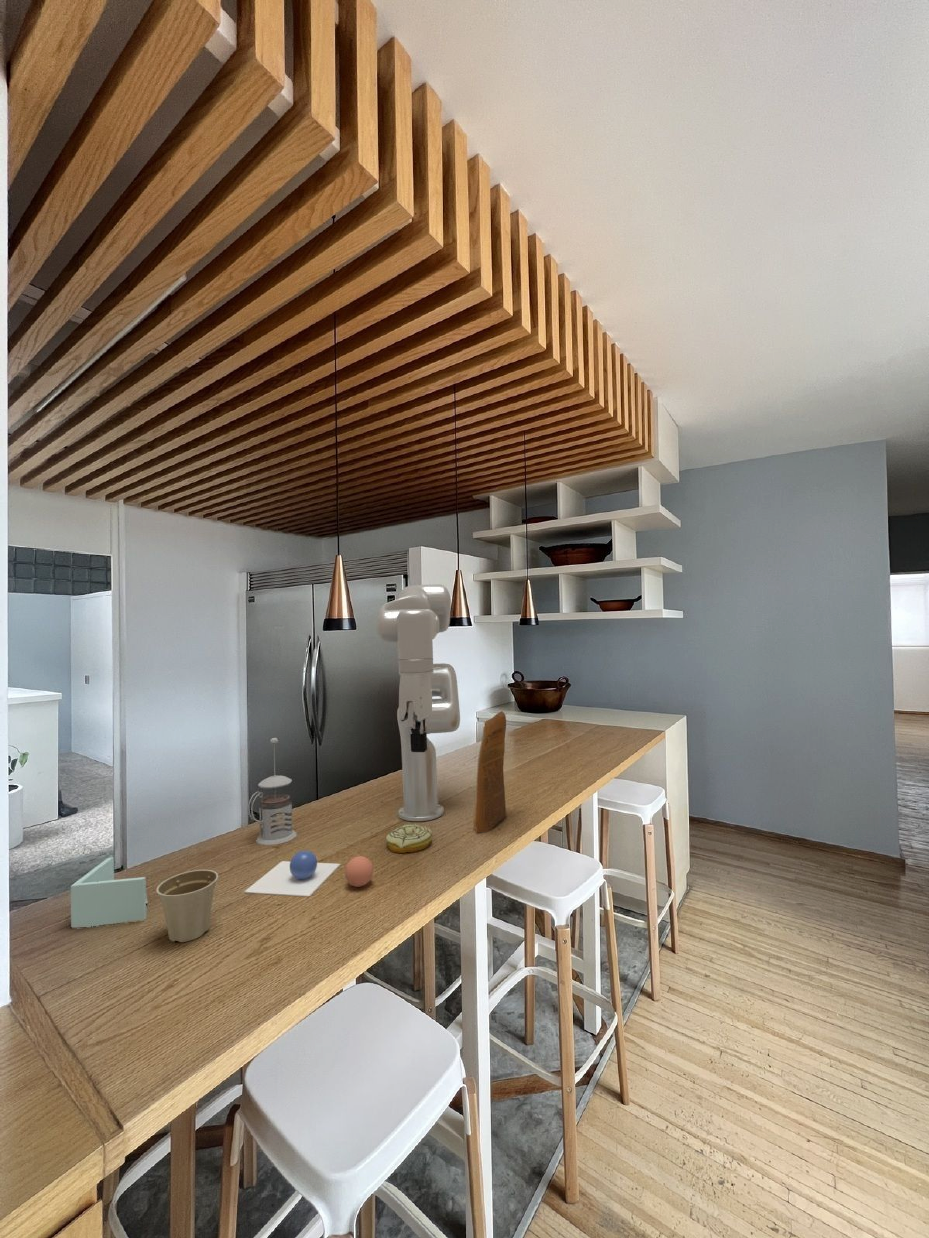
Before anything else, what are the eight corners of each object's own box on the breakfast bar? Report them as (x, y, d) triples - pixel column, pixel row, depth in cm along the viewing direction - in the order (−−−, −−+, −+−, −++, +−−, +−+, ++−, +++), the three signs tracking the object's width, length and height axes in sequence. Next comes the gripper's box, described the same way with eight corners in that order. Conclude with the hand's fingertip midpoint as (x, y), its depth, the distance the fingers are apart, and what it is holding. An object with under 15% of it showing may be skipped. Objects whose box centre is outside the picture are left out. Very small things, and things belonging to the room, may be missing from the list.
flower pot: (176, 955, 82) (175, 900, 83) (146, 939, 87) (145, 887, 88) (230, 926, 90) (229, 876, 91) (199, 913, 95) (198, 865, 96)
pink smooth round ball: (376, 851, 106) (373, 875, 107) (349, 849, 106) (347, 872, 107) (371, 869, 101) (369, 894, 102) (343, 867, 100) (341, 891, 101)
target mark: (282, 861, 116) (281, 861, 116) (340, 864, 114) (340, 863, 114) (244, 892, 102) (244, 891, 102) (309, 896, 100) (309, 895, 100)
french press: (304, 835, 132) (301, 736, 133) (260, 850, 123) (257, 744, 124) (285, 826, 138) (282, 732, 139) (241, 840, 130) (239, 740, 131)
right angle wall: (144, 921, 93) (143, 879, 93) (71, 929, 92) (70, 885, 92) (172, 889, 105) (171, 852, 105) (108, 895, 104) (107, 857, 104)
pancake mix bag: (518, 812, 142) (513, 710, 143) (490, 838, 125) (485, 721, 126) (495, 809, 145) (491, 709, 146) (465, 834, 128) (460, 720, 129)
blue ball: (324, 850, 110) (318, 875, 110) (301, 842, 111) (296, 867, 111) (311, 861, 104) (305, 888, 105) (287, 853, 106) (281, 879, 106)
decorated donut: (378, 846, 124) (377, 830, 124) (416, 833, 130) (415, 818, 131) (401, 859, 116) (400, 842, 116) (440, 845, 122) (439, 829, 122)
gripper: (410, 663, 120) (413, 742, 121) (387, 670, 106) (390, 760, 106) (441, 663, 119) (444, 742, 119) (422, 670, 104) (425, 761, 104)
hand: (419, 750), depth 112 cm, fingers closed
